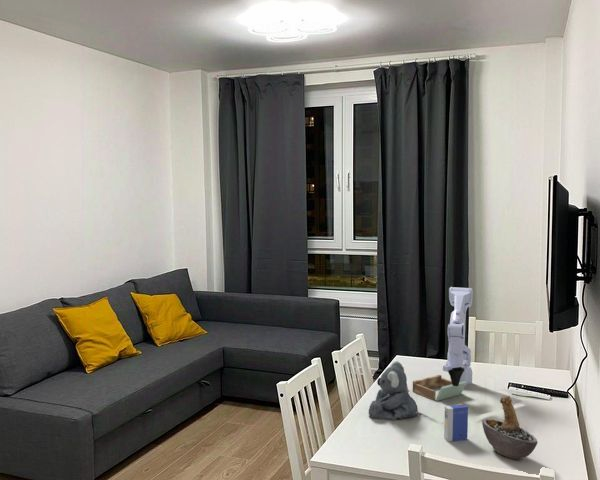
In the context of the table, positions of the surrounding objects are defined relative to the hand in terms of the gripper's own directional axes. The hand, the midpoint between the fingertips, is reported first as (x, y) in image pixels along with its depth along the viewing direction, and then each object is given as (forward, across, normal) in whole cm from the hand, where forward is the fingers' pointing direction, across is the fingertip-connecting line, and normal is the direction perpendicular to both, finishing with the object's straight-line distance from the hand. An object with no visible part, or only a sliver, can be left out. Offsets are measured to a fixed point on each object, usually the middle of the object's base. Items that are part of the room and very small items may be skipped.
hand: (455, 385), depth 243 cm
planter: (+9, +27, +40) cm, 49 cm away
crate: (+7, -2, -10) cm, 13 cm away
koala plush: (+8, +28, -9) cm, 30 cm away
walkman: (+8, +30, +21) cm, 37 cm away
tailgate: (+6, -1, -4) cm, 7 cm away
